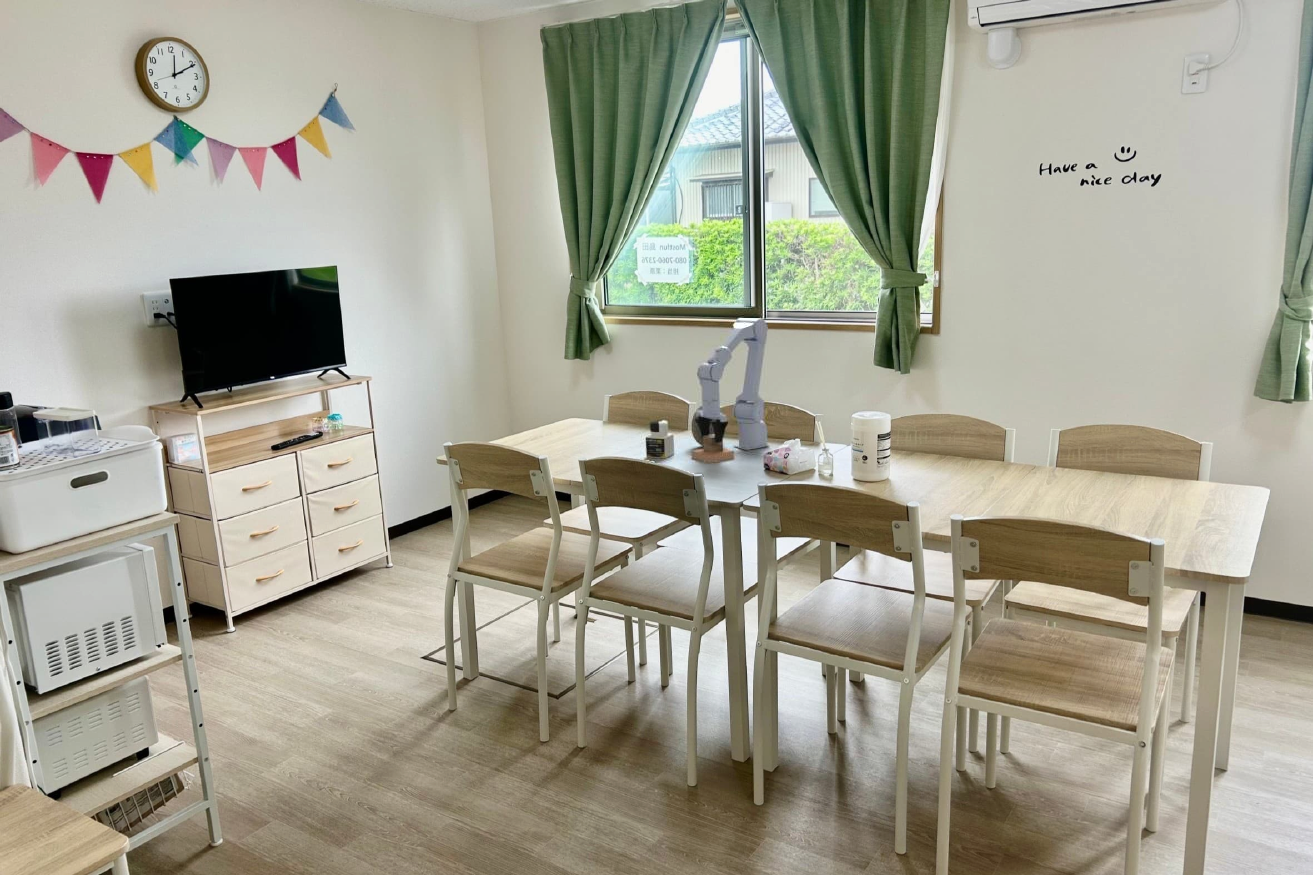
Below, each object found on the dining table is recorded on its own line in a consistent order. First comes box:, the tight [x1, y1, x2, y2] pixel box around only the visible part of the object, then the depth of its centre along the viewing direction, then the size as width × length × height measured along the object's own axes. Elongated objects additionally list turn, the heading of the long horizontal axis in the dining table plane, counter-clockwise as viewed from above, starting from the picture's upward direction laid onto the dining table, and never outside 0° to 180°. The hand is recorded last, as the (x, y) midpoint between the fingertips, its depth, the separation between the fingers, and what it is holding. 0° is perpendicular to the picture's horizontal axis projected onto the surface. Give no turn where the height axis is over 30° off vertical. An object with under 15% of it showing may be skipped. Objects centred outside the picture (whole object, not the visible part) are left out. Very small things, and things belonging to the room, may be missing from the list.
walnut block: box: [702, 434, 724, 453], centre depth 315 cm, size 5×5×5 cm
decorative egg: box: [690, 405, 726, 447], centre depth 332 cm, size 12×12×15 cm
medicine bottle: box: [645, 419, 675, 460], centre depth 322 cm, size 7×7×12 cm
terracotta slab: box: [691, 447, 735, 464], centre depth 316 cm, size 10×10×3 cm
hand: (712, 440), depth 315 cm, fingers open, 7 cm apart
